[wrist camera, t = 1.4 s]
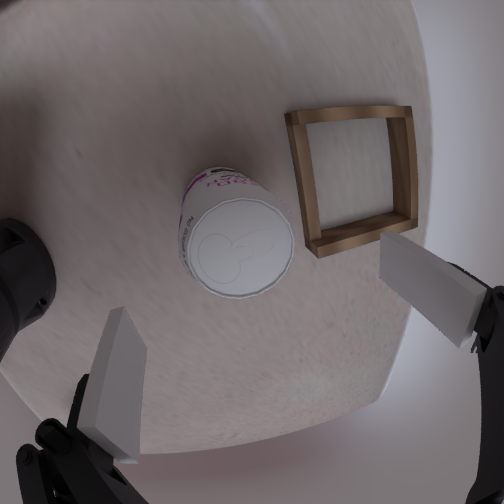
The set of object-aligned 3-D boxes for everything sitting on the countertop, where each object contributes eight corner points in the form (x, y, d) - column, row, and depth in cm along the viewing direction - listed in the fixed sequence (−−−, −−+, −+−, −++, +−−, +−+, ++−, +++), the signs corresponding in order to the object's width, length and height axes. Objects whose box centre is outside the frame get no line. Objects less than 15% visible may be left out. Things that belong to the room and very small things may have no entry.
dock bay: (305, 246, 36) (318, 258, 32) (284, 113, 28) (296, 110, 25) (400, 218, 37) (417, 226, 34) (392, 106, 30) (411, 106, 27)
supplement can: (199, 245, 32) (208, 322, 19) (172, 182, 29) (155, 218, 15) (262, 220, 33) (313, 279, 19) (240, 155, 29) (283, 168, 16)
